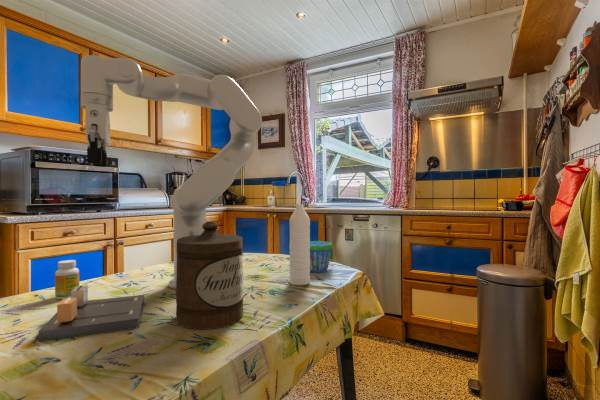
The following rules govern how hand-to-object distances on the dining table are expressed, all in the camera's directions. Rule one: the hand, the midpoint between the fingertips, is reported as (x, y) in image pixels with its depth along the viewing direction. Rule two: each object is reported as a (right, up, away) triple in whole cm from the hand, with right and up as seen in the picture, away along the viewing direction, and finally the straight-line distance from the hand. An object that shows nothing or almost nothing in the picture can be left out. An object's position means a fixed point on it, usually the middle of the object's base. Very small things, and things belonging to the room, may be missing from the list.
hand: (97, 165), depth 89 cm
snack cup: (+63, -36, +28) cm, 77 cm away
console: (+11, -37, -17) cm, 42 cm away
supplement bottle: (-7, -37, -2) cm, 37 cm away
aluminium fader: (+5, -34, -14) cm, 37 cm away
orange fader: (+8, -34, -23) cm, 42 cm away
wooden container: (+36, -37, -15) cm, 54 cm away
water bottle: (+58, -36, +11) cm, 69 cm away
